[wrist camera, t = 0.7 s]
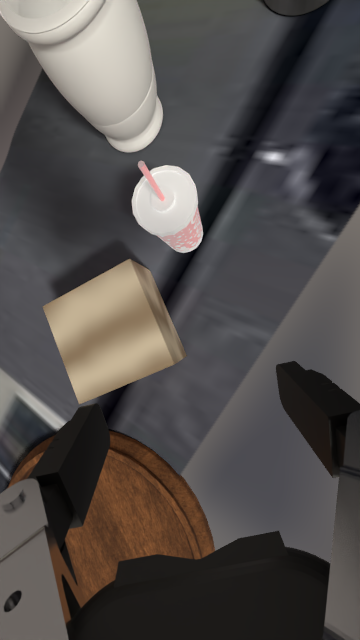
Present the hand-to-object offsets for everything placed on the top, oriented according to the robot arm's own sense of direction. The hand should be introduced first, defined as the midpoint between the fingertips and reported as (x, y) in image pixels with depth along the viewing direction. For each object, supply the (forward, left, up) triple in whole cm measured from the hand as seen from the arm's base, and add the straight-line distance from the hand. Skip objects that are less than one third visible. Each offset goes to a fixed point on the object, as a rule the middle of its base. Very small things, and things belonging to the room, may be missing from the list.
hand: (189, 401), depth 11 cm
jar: (-32, +2, -19) cm, 37 cm away
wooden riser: (-7, -10, -19) cm, 23 cm away
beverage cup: (-15, +2, -19) cm, 25 cm away
